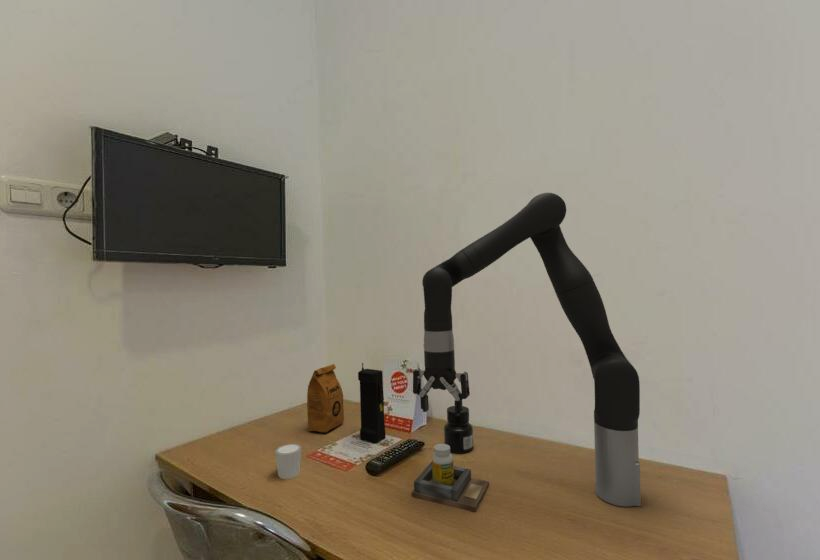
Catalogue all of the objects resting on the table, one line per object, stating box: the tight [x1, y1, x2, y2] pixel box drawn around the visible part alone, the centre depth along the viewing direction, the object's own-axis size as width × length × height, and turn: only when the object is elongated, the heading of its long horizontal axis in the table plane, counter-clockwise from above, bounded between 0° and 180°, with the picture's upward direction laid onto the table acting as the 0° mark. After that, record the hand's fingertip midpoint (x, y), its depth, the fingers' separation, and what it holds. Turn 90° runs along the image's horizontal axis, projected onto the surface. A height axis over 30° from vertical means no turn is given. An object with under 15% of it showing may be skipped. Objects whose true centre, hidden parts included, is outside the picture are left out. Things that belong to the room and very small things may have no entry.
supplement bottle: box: [431, 443, 454, 486], centre depth 98 cm, size 5×5×10 cm
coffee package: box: [306, 363, 345, 433], centre depth 141 cm, size 10×12×22 cm
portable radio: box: [357, 362, 387, 444], centre depth 130 cm, size 8×6×25 cm
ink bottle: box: [443, 405, 474, 454], centre depth 122 cm, size 10×9×12 cm
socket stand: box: [411, 461, 490, 512], centre depth 97 cm, size 16×12×4 cm
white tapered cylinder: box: [274, 443, 302, 480], centre depth 108 cm, size 7×7×7 cm
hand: (441, 412), depth 98 cm, fingers open, 8 cm apart
